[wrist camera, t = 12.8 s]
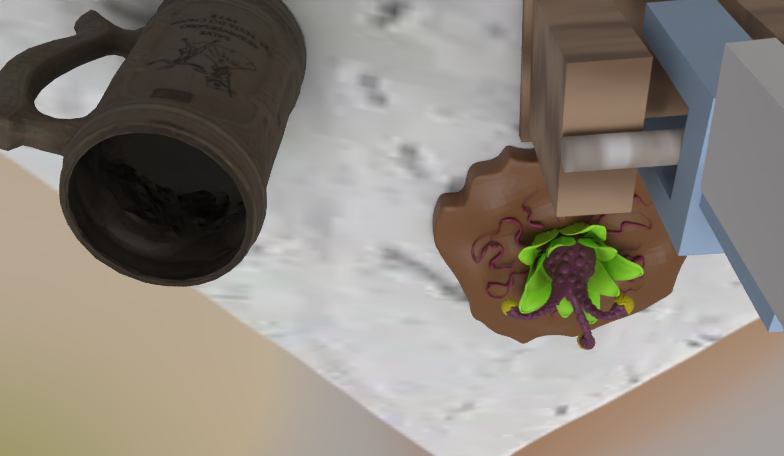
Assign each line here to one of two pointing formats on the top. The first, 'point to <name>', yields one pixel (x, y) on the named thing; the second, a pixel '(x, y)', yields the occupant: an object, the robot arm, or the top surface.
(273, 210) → the top surface
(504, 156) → the plant
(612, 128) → the stand
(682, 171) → the light blue forked piece
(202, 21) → the beer stein
